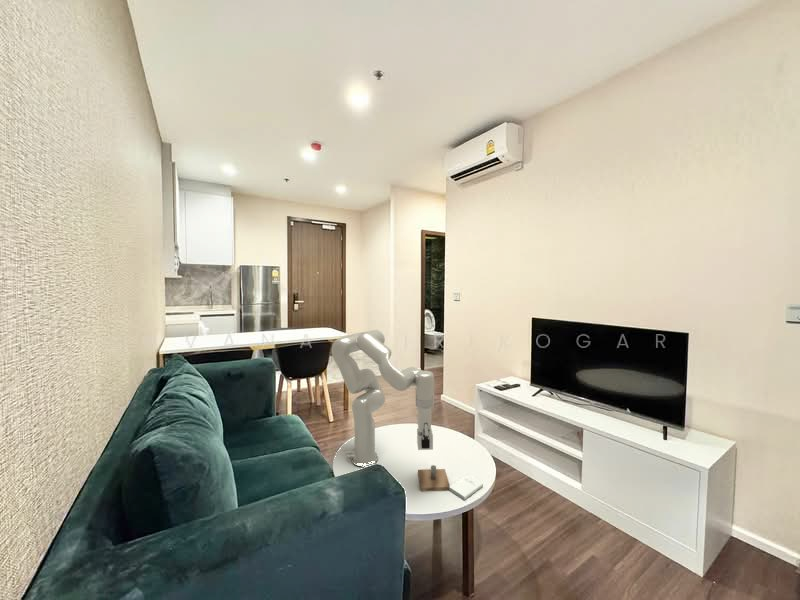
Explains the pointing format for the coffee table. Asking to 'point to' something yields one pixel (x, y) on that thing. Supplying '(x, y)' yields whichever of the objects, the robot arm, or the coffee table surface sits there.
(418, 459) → the coffee table surface
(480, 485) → the external hard drive
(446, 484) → the shaft block
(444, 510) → the coffee table surface
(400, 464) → the coffee table surface
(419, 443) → the grey hollow cube
